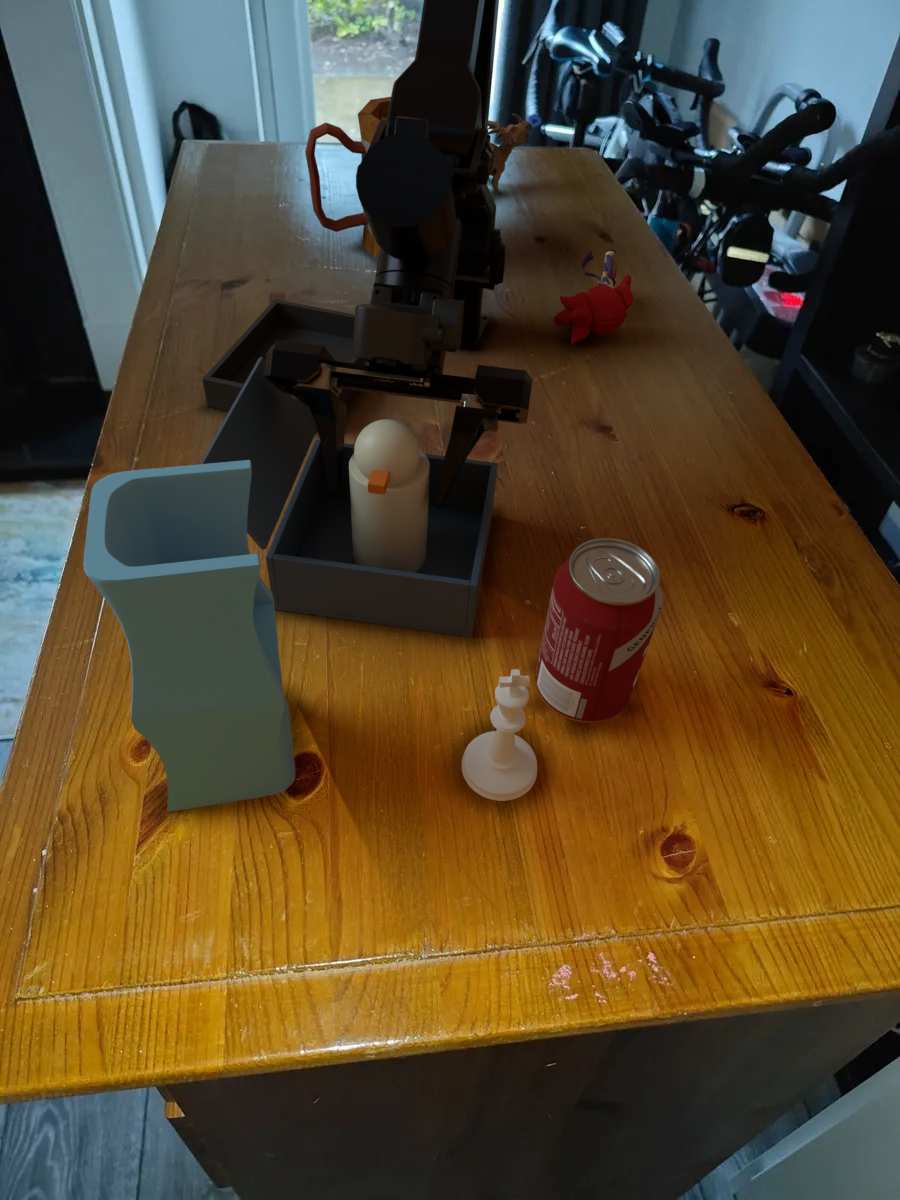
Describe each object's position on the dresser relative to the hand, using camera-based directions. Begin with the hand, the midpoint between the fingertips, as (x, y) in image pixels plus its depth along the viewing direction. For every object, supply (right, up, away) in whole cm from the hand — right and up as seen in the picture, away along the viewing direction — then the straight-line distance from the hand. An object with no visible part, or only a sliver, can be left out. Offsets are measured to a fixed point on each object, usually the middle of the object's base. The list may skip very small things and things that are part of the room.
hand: (385, 501), depth 61 cm
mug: (-3, +37, +44) cm, 58 cm away
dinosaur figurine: (+9, +50, +57) cm, 77 cm away
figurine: (+21, +24, +34) cm, 47 cm away
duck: (0, -4, +6) cm, 7 cm away
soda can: (+14, -14, -2) cm, 19 cm away
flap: (-9, +4, 0) cm, 10 cm away
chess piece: (+8, -18, -6) cm, 21 cm away
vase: (-10, -17, -6) cm, 20 cm away
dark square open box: (0, -4, +6) cm, 7 cm away
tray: (-10, +15, +23) cm, 30 cm away
